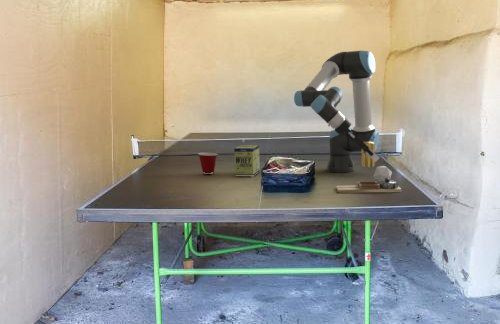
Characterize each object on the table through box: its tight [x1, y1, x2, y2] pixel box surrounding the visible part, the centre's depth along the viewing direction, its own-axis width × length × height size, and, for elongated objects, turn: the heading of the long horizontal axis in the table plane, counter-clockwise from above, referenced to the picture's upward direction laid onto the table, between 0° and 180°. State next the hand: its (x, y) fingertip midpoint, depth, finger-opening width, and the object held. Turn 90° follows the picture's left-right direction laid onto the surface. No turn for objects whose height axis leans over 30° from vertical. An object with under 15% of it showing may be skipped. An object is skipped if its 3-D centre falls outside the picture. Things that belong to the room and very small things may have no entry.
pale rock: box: [372, 165, 393, 182], centre depth 262 cm, size 8×9×10 cm
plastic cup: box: [197, 152, 219, 173], centre depth 299 cm, size 11×11×12 cm
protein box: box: [233, 144, 261, 176], centre depth 294 cm, size 10×16×16 cm
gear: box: [377, 177, 399, 189], centre depth 245 cm, size 9×9×4 cm
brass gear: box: [360, 142, 376, 168], centre depth 243 cm, size 6×6×11 cm
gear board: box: [336, 180, 403, 194], centre depth 246 cm, size 10×28×3 cm, turn 86°
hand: (376, 158), depth 243 cm, fingers closed on brass gear, 6 cm apart
